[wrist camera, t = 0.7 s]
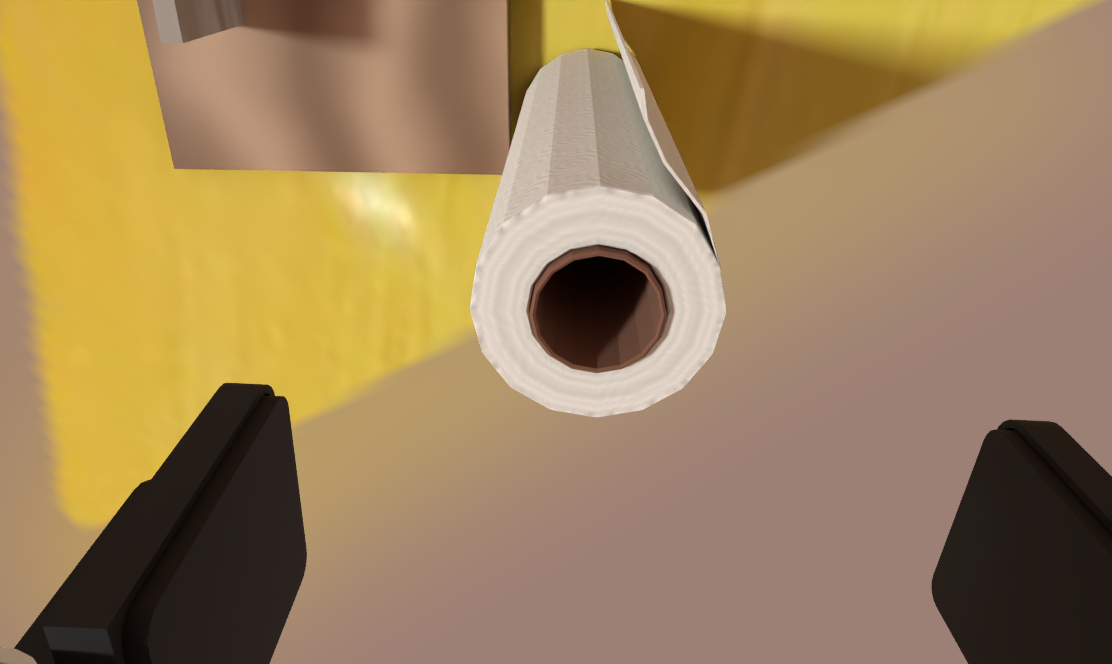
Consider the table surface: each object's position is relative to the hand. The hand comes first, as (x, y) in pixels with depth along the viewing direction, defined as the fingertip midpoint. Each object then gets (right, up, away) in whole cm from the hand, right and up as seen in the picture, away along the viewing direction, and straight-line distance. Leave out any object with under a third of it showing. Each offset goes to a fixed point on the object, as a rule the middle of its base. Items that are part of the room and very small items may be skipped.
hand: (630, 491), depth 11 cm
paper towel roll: (+1, +13, +26) cm, 29 cm away
